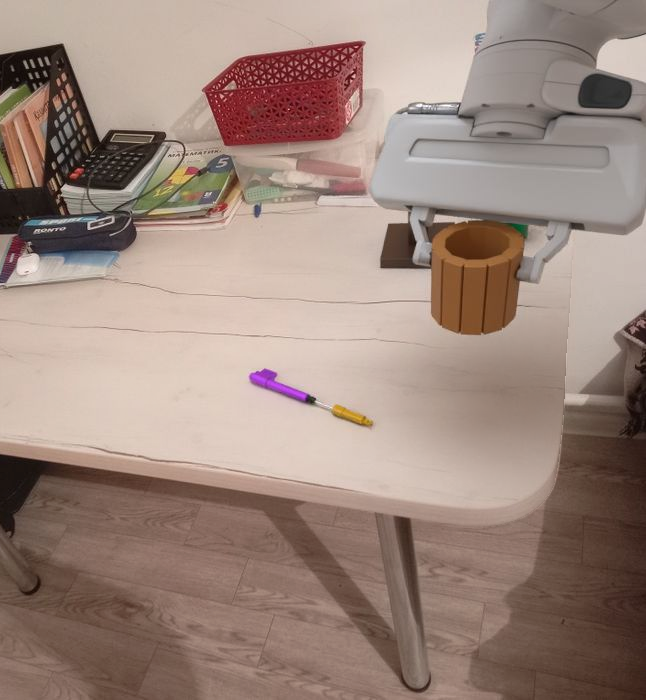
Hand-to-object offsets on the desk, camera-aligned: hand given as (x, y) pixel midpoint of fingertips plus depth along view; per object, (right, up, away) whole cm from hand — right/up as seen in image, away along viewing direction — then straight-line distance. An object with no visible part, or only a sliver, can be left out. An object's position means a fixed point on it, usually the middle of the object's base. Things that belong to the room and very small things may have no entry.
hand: (473, 273), depth 51 cm
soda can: (+21, +9, +34) cm, 41 cm away
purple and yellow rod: (-9, -12, +21) cm, 26 cm away
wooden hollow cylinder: (+1, -3, +3) cm, 4 cm away
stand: (+10, +8, +36) cm, 38 cm away
